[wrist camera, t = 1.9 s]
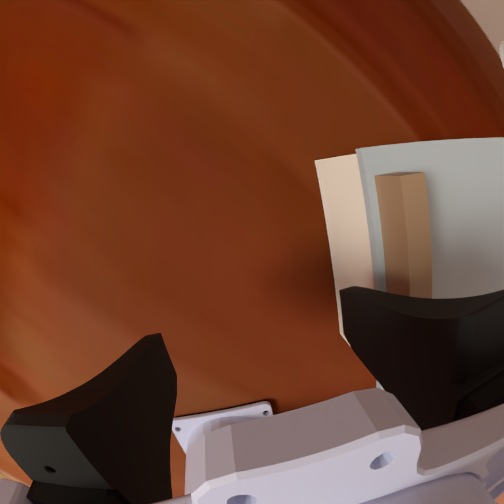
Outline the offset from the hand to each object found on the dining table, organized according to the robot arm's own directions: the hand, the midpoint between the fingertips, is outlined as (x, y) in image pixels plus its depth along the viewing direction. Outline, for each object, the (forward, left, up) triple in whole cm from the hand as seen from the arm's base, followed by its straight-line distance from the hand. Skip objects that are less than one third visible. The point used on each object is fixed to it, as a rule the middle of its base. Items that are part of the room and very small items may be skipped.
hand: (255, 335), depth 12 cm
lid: (0, -12, -2) cm, 12 cm away
